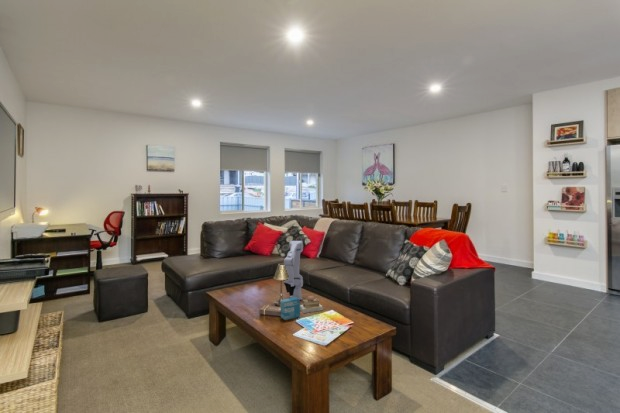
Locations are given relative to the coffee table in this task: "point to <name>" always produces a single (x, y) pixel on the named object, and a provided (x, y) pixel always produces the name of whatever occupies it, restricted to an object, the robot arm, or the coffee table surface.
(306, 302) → the wooden box
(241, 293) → the coffee table surface
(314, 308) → the dock
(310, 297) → the pink rounded cylinder
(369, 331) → the coffee table surface
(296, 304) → the data package
